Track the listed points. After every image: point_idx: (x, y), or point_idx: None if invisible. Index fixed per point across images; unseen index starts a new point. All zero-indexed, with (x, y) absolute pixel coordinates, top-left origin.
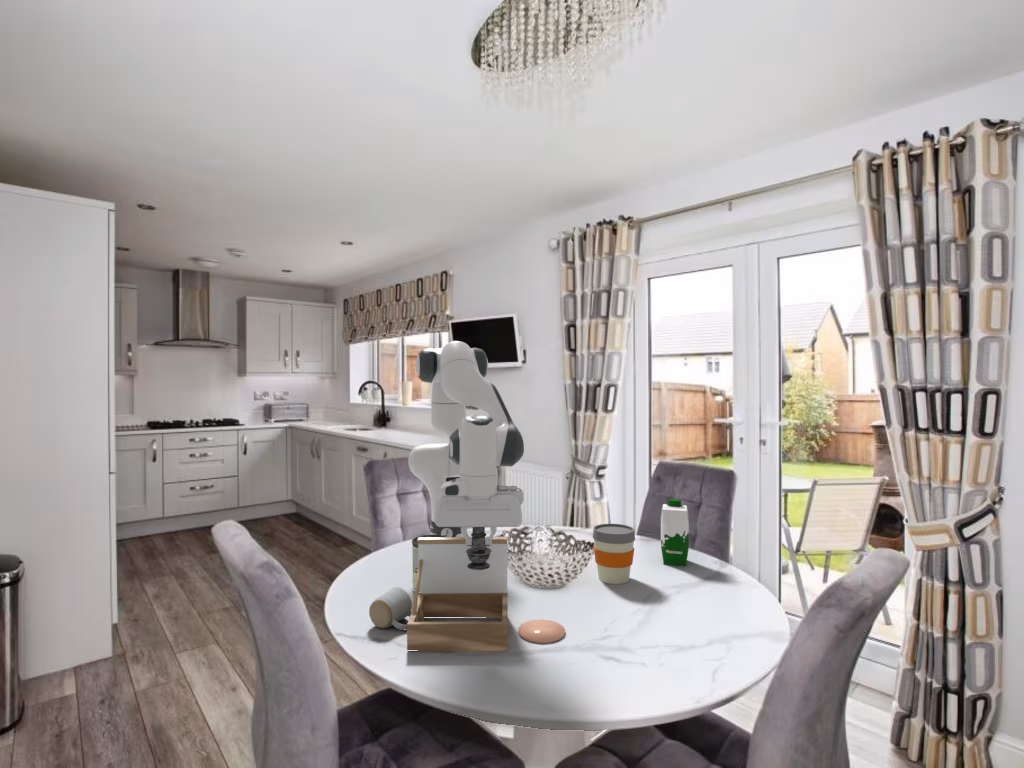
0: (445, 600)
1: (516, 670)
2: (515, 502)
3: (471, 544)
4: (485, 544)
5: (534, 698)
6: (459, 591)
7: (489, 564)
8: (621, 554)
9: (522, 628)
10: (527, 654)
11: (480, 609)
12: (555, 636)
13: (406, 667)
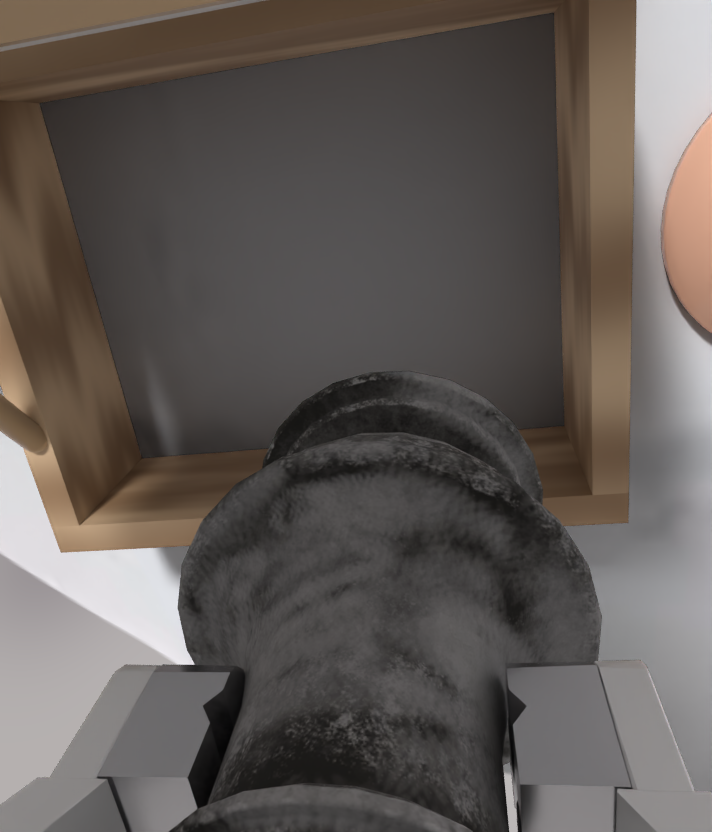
0: (112, 68)
1: (632, 597)
2: None
3: None
4: (515, 792)
5: (693, 751)
6: (187, 15)
7: (534, 476)
8: None
9: (696, 208)
10: (696, 471)
11: (390, 30)
12: None
13: (177, 589)
